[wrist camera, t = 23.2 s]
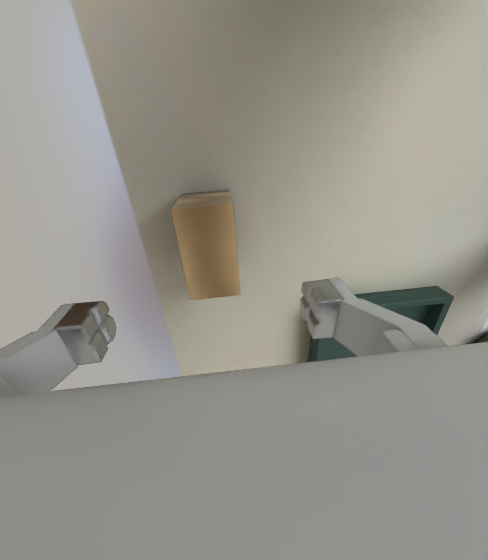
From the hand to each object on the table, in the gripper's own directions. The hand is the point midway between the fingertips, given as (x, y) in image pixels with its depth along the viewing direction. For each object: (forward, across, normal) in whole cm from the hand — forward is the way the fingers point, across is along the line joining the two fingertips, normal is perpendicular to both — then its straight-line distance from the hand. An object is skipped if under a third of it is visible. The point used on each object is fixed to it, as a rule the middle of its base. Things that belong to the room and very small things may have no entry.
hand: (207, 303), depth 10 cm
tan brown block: (+13, 0, +1) cm, 13 cm away
